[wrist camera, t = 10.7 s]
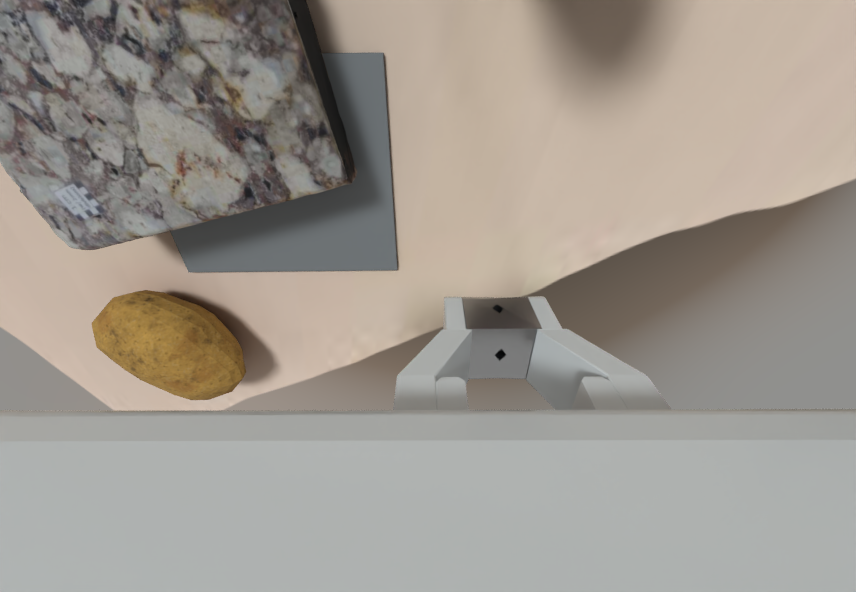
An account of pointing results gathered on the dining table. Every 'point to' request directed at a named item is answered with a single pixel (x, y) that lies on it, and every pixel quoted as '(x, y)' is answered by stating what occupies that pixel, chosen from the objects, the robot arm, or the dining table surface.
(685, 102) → the dining table surface
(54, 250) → the dining table surface
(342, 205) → the mat
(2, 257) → the dining table surface
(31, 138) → the stone block
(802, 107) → the dining table surface
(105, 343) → the potato
